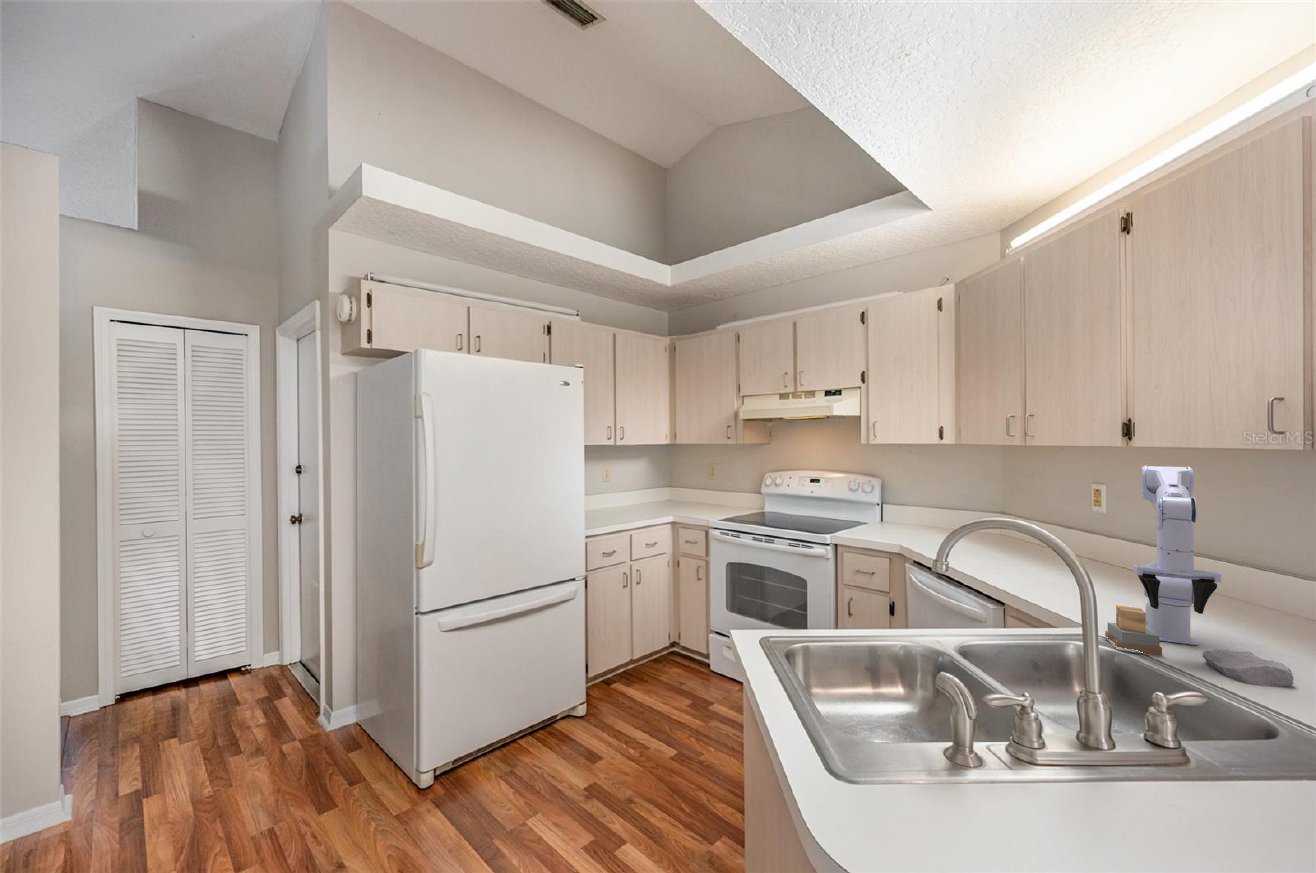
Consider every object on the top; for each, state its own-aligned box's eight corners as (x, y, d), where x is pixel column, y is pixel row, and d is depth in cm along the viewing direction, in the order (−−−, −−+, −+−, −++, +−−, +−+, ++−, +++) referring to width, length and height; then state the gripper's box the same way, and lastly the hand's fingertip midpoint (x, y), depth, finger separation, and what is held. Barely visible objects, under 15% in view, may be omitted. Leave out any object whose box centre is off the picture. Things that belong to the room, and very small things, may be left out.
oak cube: (1116, 623, 129) (1116, 605, 130) (1140, 627, 127) (1140, 608, 127) (1120, 628, 126) (1120, 609, 126) (1145, 632, 123) (1145, 613, 123)
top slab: (1107, 632, 130) (1107, 622, 130) (1143, 636, 128) (1143, 625, 128) (1122, 642, 124) (1122, 631, 124) (1159, 646, 121) (1159, 635, 121)
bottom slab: (1105, 641, 131) (1105, 631, 131) (1147, 646, 128) (1147, 636, 128) (1117, 652, 124) (1117, 642, 124) (1162, 658, 121) (1162, 647, 121)
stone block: (1244, 694, 107) (1302, 688, 105) (1238, 669, 107) (1295, 663, 106) (1195, 671, 119) (1246, 665, 117) (1189, 649, 119) (1240, 643, 118)
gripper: (1142, 549, 121) (1142, 610, 120) (1229, 556, 115) (1229, 619, 114) (1130, 544, 127) (1130, 602, 127) (1211, 550, 121) (1211, 611, 121)
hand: (1176, 610), depth 121 cm, fingers open, 7 cm apart
